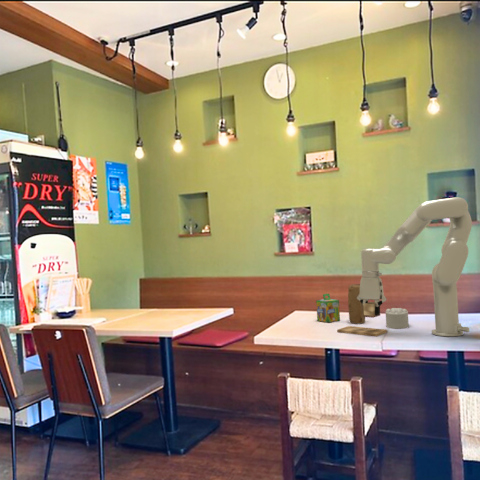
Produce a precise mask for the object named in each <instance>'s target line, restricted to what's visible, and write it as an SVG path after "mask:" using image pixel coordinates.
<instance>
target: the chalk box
mask: <svg viewBox="0 0 480 480" xmlns="http://www.w3.org/2000/svg"><path fill="white" fill-rule="evenodd" d="M326 296H327V297H326ZM322 297H323V298H322V299H316V300H315V302H316V318H317V319H316V321H317V322H322V323H337V322H341V318H340V316H341V315H340V313H341V312H340V300H339V299H335V298H334V299H332V298H331V296H330V293H324V294H322Z"/></svg>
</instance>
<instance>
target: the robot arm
mask: <svg viewBox="0 0 480 480" xmlns="http://www.w3.org/2000/svg"><path fill="white" fill-rule="evenodd" d="M444 219H446V220H447V219H449V223H450V224H449V227H448V232H447V234H446V237H445V239H444V242H443V244H442V247H441V257H440V259H439V263H437V264H435V265H434V267H433V268H432V270H431V278H432V279H431V281H432V287H433V305H434V309H433V310H434V323H435V324H434V325H435V328H434V329H432V330H431V334H433V335H435V336H440V337H460V336H463V335H464V332H466V333H469V332H470V327H468V326H462V323H461V322H459V321H460V320H459V318H460V317H459V302H458V288H457V283H458V281H459V279H460V277H461V275H462V273H463V270H464V267H465V265H466V262H467V259H468V257H469V256H468V255H469V247H468V245H467V243H468V240H469V237H470V235H471V231H472V227H473V226H472V225H473V221H472V217H471V214H470V211H469V205H468V202H467V200H466V199H464V198H463V197H457V196H456V197H450V198H449V197H447V198H441V199H432V200H427V201H423V202H422V203H420V204H419V205H418V206H417V207H416V208H415V209H414V210H413V212H412V213H411V214H410V215H409V216H408V217H407V218H406V220H405V221H404V222H403V223H402V224H401V225H400V226H399V227H398V228H397V230H396V232H395V233H394V234H393V235H392V236H391V237H390V238H389V240H388V241H387V242H386V243H385V244H384V245H383V247H381V248H373V247H372V248H371V247H370V248H363V249H362V250H361V251H360V252H361V253H360V256H361V259H360V260H361V273H362V274H361V278H360V282H359V284H360V294H359V295H358V297H357V299H358V300H359V301H360V302H361V303H362V304H365V303H368V302H369V300H370V301H373V302H375V304H376V307H375V315H379V313H380V314H381V306H382V304H383V303H385V302H386V301H387V297H386V296H385V294H384V286H383V281H382V278H381V276H382V272H380V271H379V270H380V267H379V266H380V265H379V264H383V265H390V264H392V263H394V262H395V260H396V258H397V256H398V255H399V254H401V252H402V251H403V250H404V248H406V246H408V245H409V244H410V243H412V242H413V241H414V240H415V239H416V238H417V237H418V236H419V235H420V234H421V233H422V232H423V231H424V230H425V229H426V227H427V226H428V225H429V224H430V223H431V222H432V221H435V220H444ZM363 306H364V305H363Z"/></svg>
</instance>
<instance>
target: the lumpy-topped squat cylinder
mask: <svg viewBox="0 0 480 480" xmlns="http://www.w3.org/2000/svg"><path fill="white" fill-rule="evenodd" d="M385 324H386V325H385V326H386V327H387V328H388V329H394V330H401V329H408V328H409V311H408V310H407V309H406V308H401V307H397V308H396V307H392V308H386V310H385ZM407 327H408V328H407Z"/></svg>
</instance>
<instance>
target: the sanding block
mask: <svg viewBox="0 0 480 480" xmlns="http://www.w3.org/2000/svg"><path fill="white" fill-rule="evenodd" d="M363 305H364V317H365V318H372V319H374V318H376V317H380V316H381V312H380V313H379V315H375V307H376V304H375V301H368V303H365V304H363Z"/></svg>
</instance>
